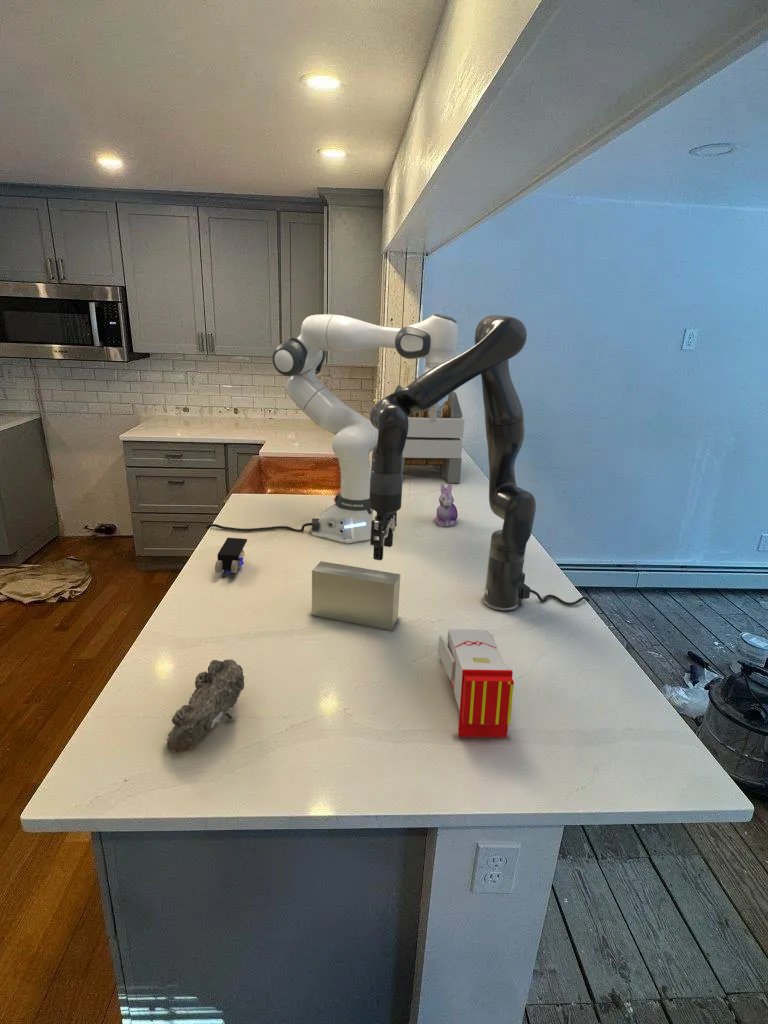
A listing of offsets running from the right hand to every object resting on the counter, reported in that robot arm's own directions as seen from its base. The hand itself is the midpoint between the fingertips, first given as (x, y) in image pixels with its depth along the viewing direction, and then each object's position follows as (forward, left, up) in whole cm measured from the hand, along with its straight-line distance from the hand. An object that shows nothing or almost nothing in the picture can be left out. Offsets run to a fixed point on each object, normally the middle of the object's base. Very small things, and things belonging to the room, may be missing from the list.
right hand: (383, 552), depth 137 cm
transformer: (-65, -125, -19) cm, 142 cm away
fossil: (+43, +24, -19) cm, 53 cm away
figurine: (-48, -60, -19) cm, 79 cm away
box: (+5, -4, -19) cm, 20 cm away
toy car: (+32, -39, -19) cm, 54 cm away
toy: (-8, +32, -19) cm, 38 cm away
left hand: (-29, -37, +24) cm, 53 cm away
